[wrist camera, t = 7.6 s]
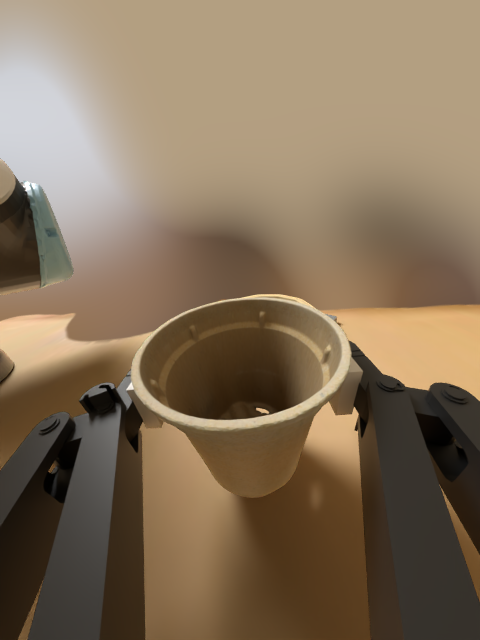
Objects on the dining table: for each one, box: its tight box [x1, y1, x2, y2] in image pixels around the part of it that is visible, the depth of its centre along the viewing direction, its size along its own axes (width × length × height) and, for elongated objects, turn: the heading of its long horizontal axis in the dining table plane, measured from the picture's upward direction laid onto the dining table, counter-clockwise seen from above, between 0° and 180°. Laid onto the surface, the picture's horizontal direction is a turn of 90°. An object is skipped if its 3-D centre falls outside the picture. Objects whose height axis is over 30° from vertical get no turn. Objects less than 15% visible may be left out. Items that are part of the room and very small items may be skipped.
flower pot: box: [131, 297, 352, 498], centre depth 11 cm, size 9×9×9 cm
